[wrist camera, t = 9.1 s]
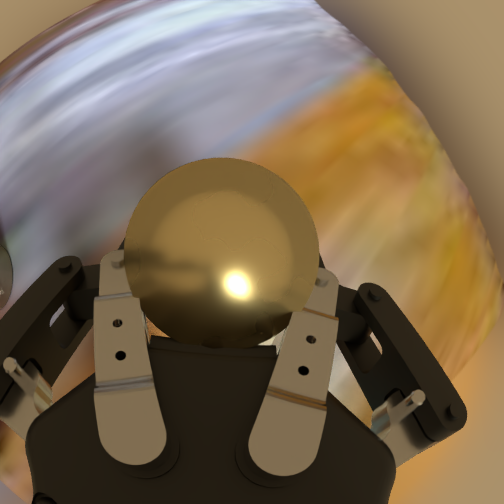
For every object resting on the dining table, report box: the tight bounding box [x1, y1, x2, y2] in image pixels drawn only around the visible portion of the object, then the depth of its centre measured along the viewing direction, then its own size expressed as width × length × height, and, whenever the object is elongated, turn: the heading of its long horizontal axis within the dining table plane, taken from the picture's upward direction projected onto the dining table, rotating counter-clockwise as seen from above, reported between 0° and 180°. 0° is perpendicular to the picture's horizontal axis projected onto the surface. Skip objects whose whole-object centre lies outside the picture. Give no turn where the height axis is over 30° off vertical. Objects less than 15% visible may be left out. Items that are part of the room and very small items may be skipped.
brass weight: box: [124, 158, 319, 349], centre depth 12 cm, size 5×5×10 cm
